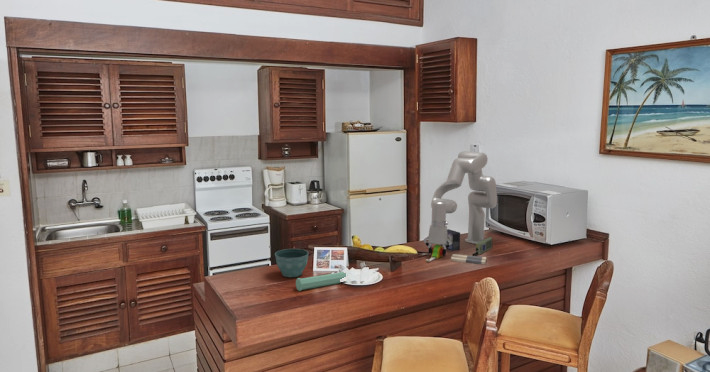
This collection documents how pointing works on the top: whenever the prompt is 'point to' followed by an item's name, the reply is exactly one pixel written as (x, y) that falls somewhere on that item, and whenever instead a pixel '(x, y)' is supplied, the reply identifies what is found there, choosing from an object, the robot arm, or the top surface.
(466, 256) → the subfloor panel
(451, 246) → the small box
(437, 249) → the toy measuring tape
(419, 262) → the top surface
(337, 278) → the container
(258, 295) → the top surface
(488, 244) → the handheld radio
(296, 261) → the flower pot
